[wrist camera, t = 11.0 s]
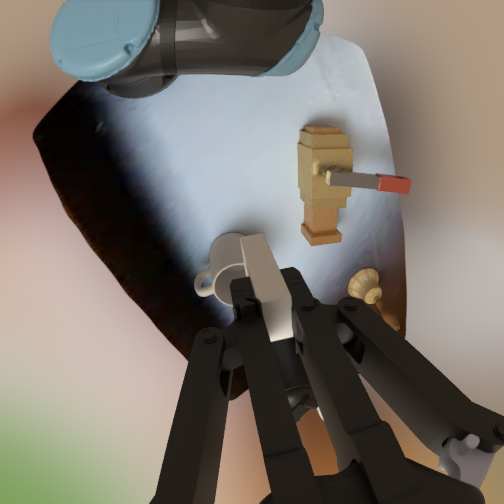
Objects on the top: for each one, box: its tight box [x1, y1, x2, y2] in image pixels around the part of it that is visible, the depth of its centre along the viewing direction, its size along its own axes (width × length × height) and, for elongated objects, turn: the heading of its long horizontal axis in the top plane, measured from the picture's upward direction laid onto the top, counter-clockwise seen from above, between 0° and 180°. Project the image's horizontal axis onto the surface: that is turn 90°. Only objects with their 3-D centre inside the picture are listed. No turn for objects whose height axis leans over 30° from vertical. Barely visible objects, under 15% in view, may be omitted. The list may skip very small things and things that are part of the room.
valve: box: [298, 126, 353, 246], centre depth 48 cm, size 20×7×7 cm, turn 3°
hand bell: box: [348, 268, 400, 331], centre depth 58 cm, size 8×8×16 cm
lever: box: [325, 167, 411, 194], centre depth 43 cm, size 15×2×4 cm, turn 86°
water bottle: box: [271, 335, 318, 422], centre depth 57 cm, size 10×10×23 cm
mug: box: [195, 233, 246, 306], centre depth 51 cm, size 12×8×11 cm
